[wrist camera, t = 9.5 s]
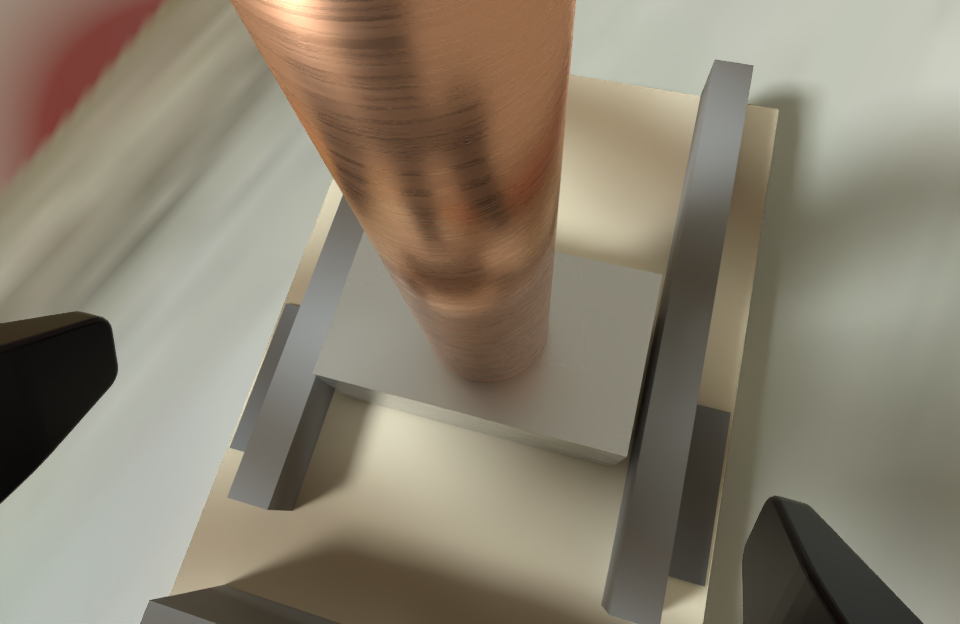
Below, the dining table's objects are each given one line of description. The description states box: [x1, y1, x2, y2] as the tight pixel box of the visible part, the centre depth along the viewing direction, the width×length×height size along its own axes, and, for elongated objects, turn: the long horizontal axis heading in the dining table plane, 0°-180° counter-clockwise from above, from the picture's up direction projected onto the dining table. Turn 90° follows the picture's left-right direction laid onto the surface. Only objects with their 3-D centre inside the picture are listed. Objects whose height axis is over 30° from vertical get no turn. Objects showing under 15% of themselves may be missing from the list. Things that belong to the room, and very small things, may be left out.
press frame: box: [140, 60, 779, 624], centre depth 15 cm, size 18×12×4 cm, turn 165°
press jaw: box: [230, 0, 663, 467], centre depth 10 cm, size 4×7×13 cm, turn 75°
